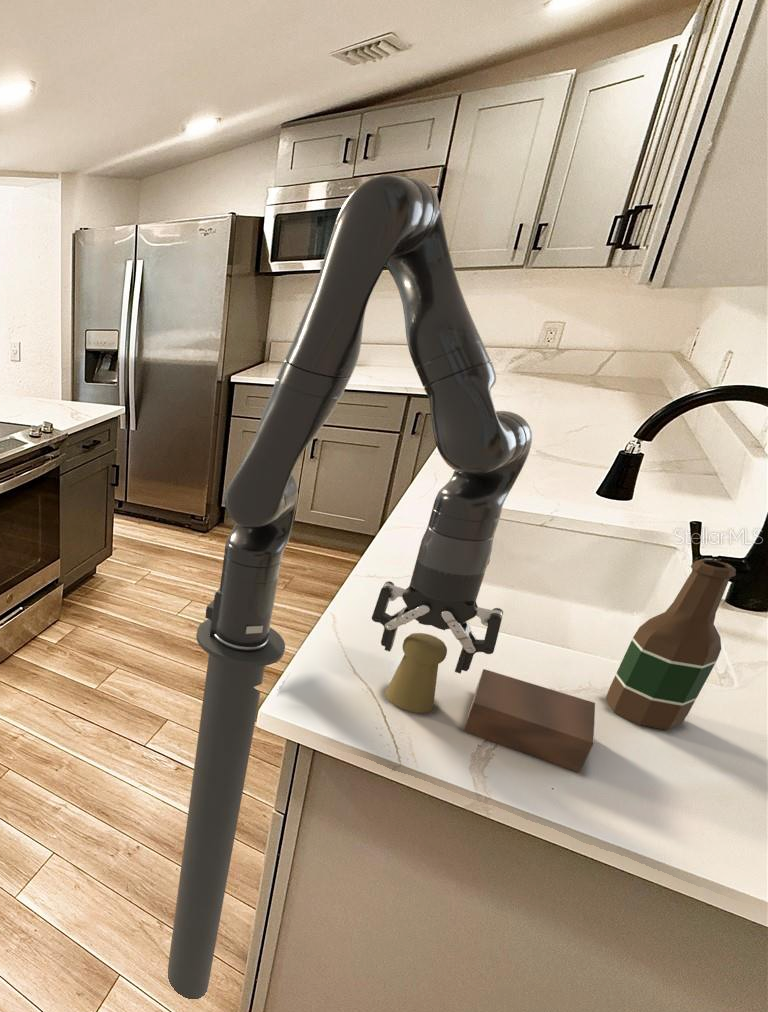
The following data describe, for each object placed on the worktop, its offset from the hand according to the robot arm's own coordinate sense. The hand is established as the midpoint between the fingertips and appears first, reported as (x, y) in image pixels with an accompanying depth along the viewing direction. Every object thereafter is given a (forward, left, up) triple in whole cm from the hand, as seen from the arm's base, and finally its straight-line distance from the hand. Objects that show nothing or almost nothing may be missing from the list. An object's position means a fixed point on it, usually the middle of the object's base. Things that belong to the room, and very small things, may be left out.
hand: (422, 659), depth 89 cm
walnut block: (+13, +2, -8) cm, 15 cm away
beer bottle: (+25, +17, -8) cm, 31 cm away
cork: (0, 0, -8) cm, 8 cm away
